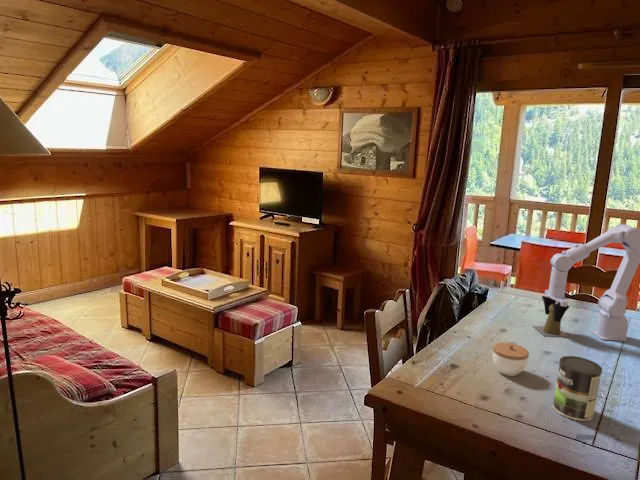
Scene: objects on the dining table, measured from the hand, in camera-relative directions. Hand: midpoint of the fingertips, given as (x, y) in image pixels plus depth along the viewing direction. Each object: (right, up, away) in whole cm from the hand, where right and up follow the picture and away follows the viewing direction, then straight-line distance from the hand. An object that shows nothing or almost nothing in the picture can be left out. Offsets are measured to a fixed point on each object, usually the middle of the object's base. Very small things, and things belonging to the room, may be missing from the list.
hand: (552, 317), depth 188 cm
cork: (0, -6, +1) cm, 6 cm away
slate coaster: (0, -7, +2) cm, 7 cm away
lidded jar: (-31, -12, -34) cm, 47 cm away
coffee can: (-21, -17, -55) cm, 62 cm away
